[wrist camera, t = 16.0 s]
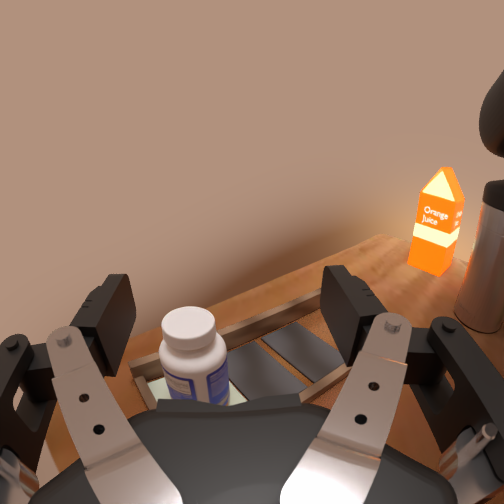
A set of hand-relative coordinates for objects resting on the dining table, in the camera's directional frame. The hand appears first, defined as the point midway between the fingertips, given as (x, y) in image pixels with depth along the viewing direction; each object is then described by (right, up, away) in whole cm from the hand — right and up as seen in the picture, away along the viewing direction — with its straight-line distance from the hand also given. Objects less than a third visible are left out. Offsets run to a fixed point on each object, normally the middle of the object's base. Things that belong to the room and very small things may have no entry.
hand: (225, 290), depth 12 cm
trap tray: (+4, -10, +19) cm, 22 cm away
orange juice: (+37, -1, +41) cm, 55 cm away
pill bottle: (-4, -12, +13) cm, 18 cm away
